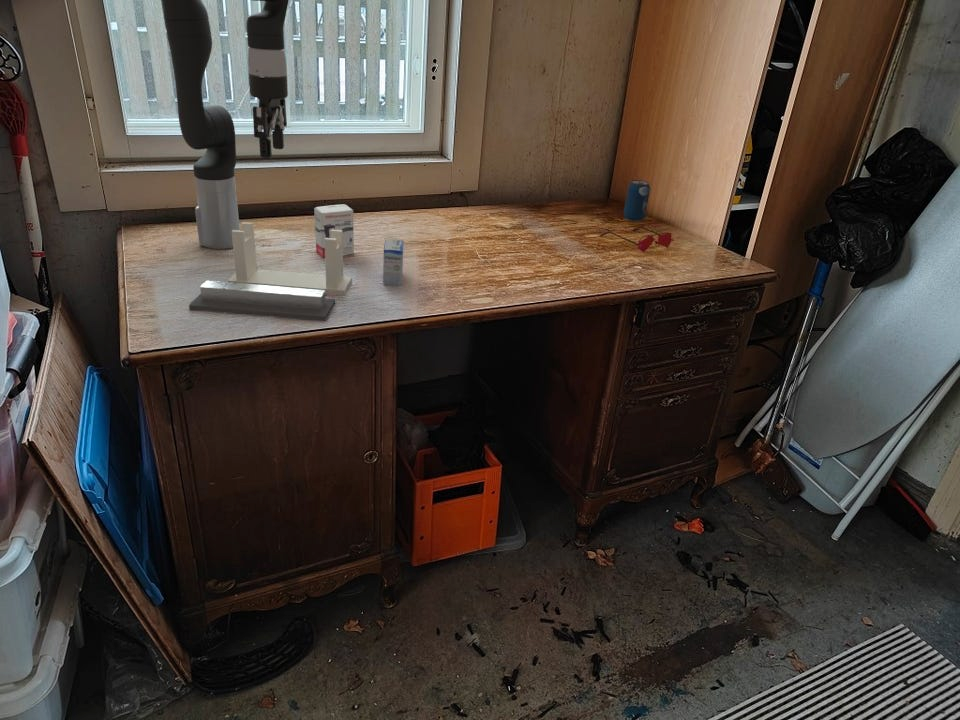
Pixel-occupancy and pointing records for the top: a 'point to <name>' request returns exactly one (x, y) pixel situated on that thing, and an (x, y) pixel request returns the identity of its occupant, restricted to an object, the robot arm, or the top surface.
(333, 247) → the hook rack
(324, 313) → the rubber mat
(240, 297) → the rail
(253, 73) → the robot arm
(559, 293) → the top surface
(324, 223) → the ink box
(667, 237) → the glasses
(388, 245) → the medicine box
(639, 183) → the soda can
